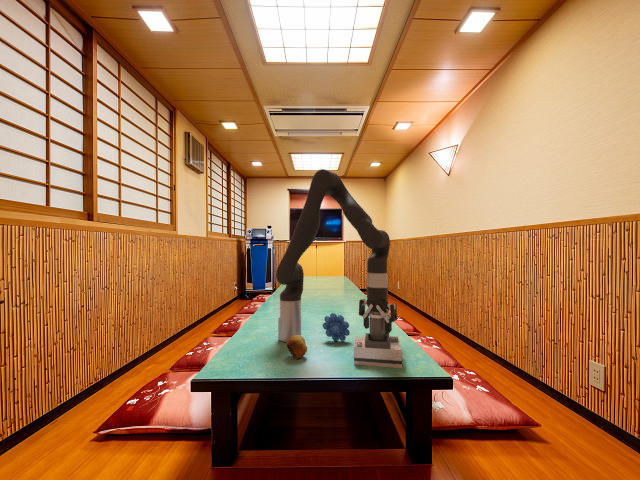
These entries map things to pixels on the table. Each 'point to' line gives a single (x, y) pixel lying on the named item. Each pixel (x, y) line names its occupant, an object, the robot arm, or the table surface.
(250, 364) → the table surface
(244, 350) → the table surface
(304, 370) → the table surface
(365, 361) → the box with square recess
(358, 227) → the robot arm
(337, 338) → the grapes
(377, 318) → the flashlight
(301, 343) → the fruit
